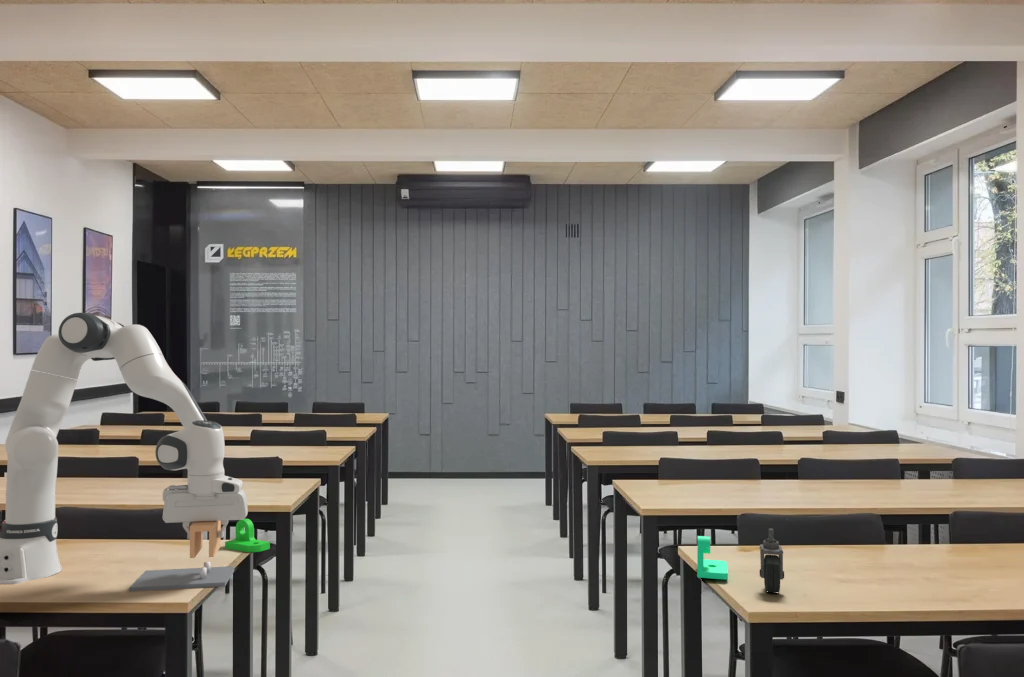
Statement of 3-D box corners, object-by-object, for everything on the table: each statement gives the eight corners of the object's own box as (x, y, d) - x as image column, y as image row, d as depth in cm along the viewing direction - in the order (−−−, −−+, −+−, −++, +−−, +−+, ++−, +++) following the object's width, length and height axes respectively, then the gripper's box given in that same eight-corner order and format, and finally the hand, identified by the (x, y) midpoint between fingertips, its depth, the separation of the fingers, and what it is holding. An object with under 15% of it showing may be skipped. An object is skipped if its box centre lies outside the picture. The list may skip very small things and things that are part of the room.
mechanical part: (225, 548, 224) (225, 521, 224) (240, 543, 229) (240, 517, 229) (254, 553, 219) (254, 526, 219) (269, 548, 224) (269, 521, 224)
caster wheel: (782, 587, 189) (782, 527, 189) (785, 599, 180) (785, 536, 180) (758, 585, 191) (758, 526, 191) (760, 597, 181) (761, 535, 182)
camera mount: (728, 583, 192) (728, 543, 192) (697, 581, 194) (697, 541, 194) (726, 570, 204) (726, 532, 204) (697, 568, 206) (697, 530, 206)
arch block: (189, 558, 187) (189, 526, 187) (198, 547, 197) (198, 516, 197) (213, 556, 188) (213, 525, 188) (220, 546, 198) (220, 516, 198)
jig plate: (129, 593, 182) (129, 577, 182) (145, 576, 196) (145, 561, 196) (224, 588, 186) (225, 572, 186) (234, 571, 200) (234, 556, 200)
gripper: (159, 487, 187) (159, 543, 187) (245, 485, 191) (245, 539, 191) (165, 483, 193) (165, 537, 193) (248, 480, 197) (248, 533, 197)
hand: (205, 538), depth 192 cm, fingers closed on arch block, 6 cm apart
